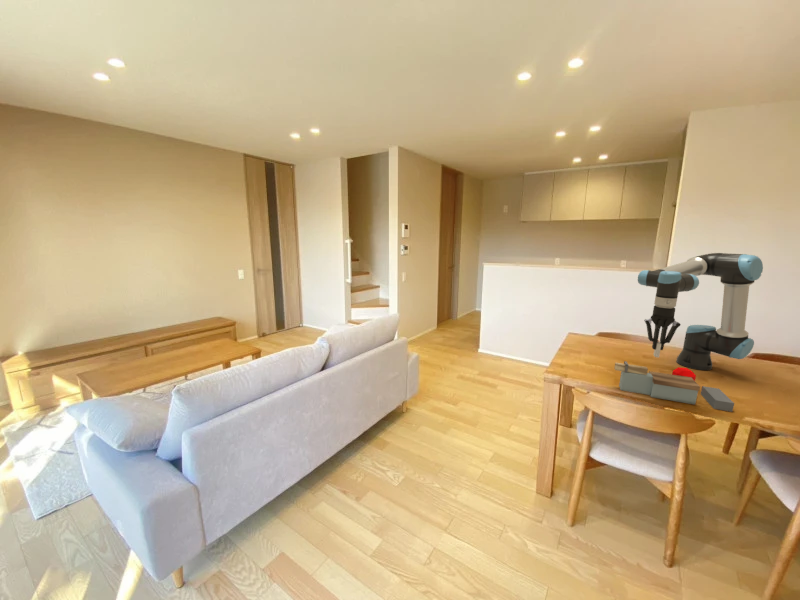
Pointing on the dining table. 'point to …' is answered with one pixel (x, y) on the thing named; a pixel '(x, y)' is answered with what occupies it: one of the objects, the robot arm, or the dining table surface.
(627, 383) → the grey block with peg
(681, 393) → the open box
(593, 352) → the dining table surface
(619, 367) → the bar
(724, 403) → the block
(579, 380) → the dining table surface
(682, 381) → the lid
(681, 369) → the ball
